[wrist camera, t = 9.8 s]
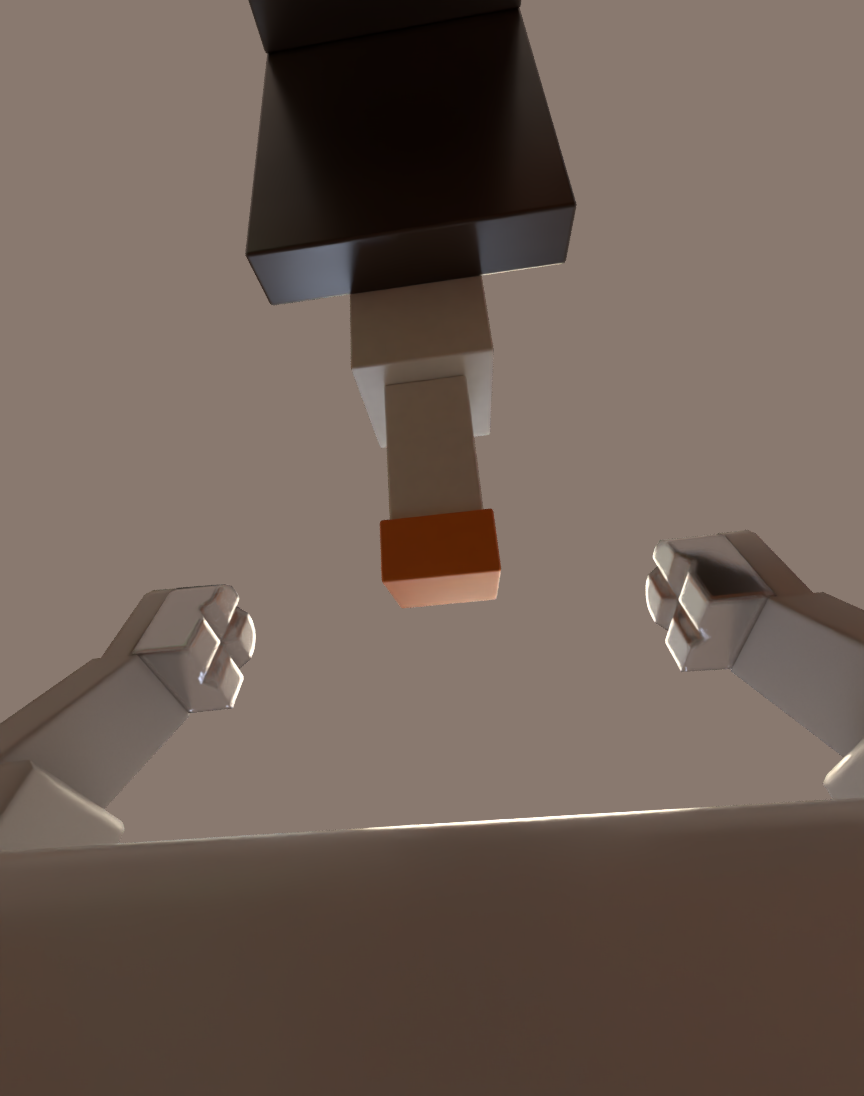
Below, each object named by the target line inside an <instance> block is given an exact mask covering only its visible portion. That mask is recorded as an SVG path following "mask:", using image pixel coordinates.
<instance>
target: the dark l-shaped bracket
mask: <svg viewBox="0 0 864 1096" xmlns="http://www.w3.org/2000/svg"><path fill="white" fill-rule="evenodd" d="M249 3H250V6H251V9H252V13H253V16H254V19H255V22H256V25H257V28H258V31H259V34H260V37H261V41H262V44H263V47H264V50H265V51H266V53H267V61H266V71H265V79H264V89H263V97H262V106H261V116H260V125H259V134H258V144H257V152H256V162H255V171H254V181H253V189H252V198H251V207H250V217H249V226H248V236H247V244H246V257H247V259H248V261H249V263H250V265H251V267H252V269H253V271H254V273H255V275H256V276H257V279H258V281H259V282H260V284H261V286H262V288H263V290H264V292H265V294H266V296H267V298H268V300H269V302H270V304H271V305H279V304H286V303H293V302H300V301H306V300H314V299H320V298H327V297H335V296H342V295H348V294H356V293H363V292H370V291H377V290H383V289H390V288H397V287H404V286H411V285H418V284H425V283H432V282H439V281H446V280H453V279H460V278H467V277H474V276H481V275H488V274H494V273H501V272H508V271H515V270H522V269H529V268H536V267H543V266H550V265H557V264H563V263H565V261H566V257H567V252H568V246H569V241H570V236H571V231H572V226H573V220H574V215H575V210H576V201H575V198H574V194H573V191H572V187H571V184H570V180H569V177H568V174H567V170H566V167H565V163H564V160H563V156H562V153H561V150H560V146H559V143H558V139H557V136H556V132H555V129H554V125H553V122H552V119H551V115H550V112H549V108H548V105H547V101H546V98H545V94H544V91H543V88H542V84H541V81H540V77H539V74H538V70H537V67H536V63H535V60H534V56H533V53H532V49H531V46H530V42H529V39H528V36H527V32H526V29H525V26H524V22H523V19H522V15H521V11H520V8H519V7H520V5H521V0H249Z"/></svg>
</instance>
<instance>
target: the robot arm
mask: <svg viewBox="0 0 864 1096" xmlns="http://www.w3.org/2000/svg"><path fill="white" fill-rule="evenodd" d="M653 558H654V560H655V562H656V564H657V565H658V566H657V567H656V568H655V569H654V570H653V571H652V572H651V573H650V574H648V577H647V583H646V588H645V590H646V601H647V605H648V608H649V612H650V614H651V616H652V618H653V619H654V622H655V623H656V624H658V625H660V626H661V627H663V628H665V629H666V630H667V631H668V634H667V637H666V641H665V642H666V644H667V646H668V648H669V650H670V652H671V654H672V655H673V657H674V659H675V661H676V663H677V665H678V667H679V668H680V670H681V672H683V671H701V670H719V669H732V670H731V672H733V673H734V674H735V675H737V676H738V677H739V678H741V679H742V680H743V681H744V682H746V683H747V684H749V685H750V686H751V687H752V688H754V689H755V690H756V691H757V692H759V693H760V694H761V695H763V696H764V697H765V698H767V699H768V700H769V701H771V702H772V703H773V704H775V705H776V706H777V707H779V708H780V709H781V710H782V711H784V712H785V713H786V714H788V715H789V716H790V717H792V718H793V719H794V720H795V721H797V722H798V723H800V724H801V725H802V726H803V727H805V728H806V729H807V730H809V731H810V732H811V733H813V734H814V735H815V736H816V737H818V738H819V739H820V740H822V741H823V742H824V743H826V744H827V745H828V746H829V747H831V748H832V749H834V750H835V751H836V752H838V753H839V754H840V755H841V756H843V757H844V758H843V759H842V760H841V761H840V762H839V763H838V764H837V765H836V766H835V767H834V768H833V769H832V770H831V771H830V772H829V773H828V775H827V776H826V778H825V780H824V782H823V784H824V786H825V788H826V789H827V791H828V792H829V794H830V795H831V797H832V798H833V799H830V800H814V801H797V802H781V803H765V804H749V805H733V806H716V807H700V808H685V809H668V810H651V811H636V812H622V813H621V812H619V813H603V814H587V815H571V816H554V817H539V818H523V819H507V820H489V821H473V822H457V823H442V824H425V825H408V826H392V827H377V828H360V829H345V830H327V831H312V832H295V833H281V834H280V833H279V834H263V835H248V836H231V837H216V838H199V839H184V840H167V841H150V842H134V843H119V841H120V838H121V836H122V834H123V832H124V830H125V829H124V826H123V823H122V821H120V820H119V819H117V818H116V817H114V816H113V815H111V814H110V813H108V812H107V811H105V810H104V809H105V808H106V807H107V806H108V805H109V803H110V802H111V801H112V800H113V799H114V798H115V797H116V796H117V795H118V794H119V792H120V791H121V790H122V789H123V788H124V787H125V786H126V785H127V784H128V783H129V782H130V780H131V779H132V778H133V777H134V776H135V775H136V774H137V773H138V772H139V771H140V770H141V768H142V767H143V766H144V765H145V764H146V763H147V762H148V761H149V760H150V759H151V757H152V756H153V755H154V754H155V753H156V752H157V751H158V750H159V749H160V748H161V747H162V745H163V744H164V743H165V742H166V741H167V740H168V739H169V738H170V737H171V736H172V734H173V733H174V732H175V731H176V730H177V729H178V728H179V727H180V726H181V725H182V723H183V722H184V721H185V720H186V719H187V718H188V717H189V716H190V714H189V713H194V712H203V711H211V710H212V711H213V710H221V709H231V708H233V705H234V703H235V700H236V697H237V694H238V692H239V689H240V686H241V684H242V681H243V675H242V673H241V671H240V668H241V667H242V666H243V665H244V664H246V663H247V662H248V661H249V660H250V659H251V656H252V653H253V650H254V648H255V633H256V632H255V628H254V624H253V621H252V619H251V617H250V616H249V614H248V613H247V612H245V611H243V610H242V609H240V608H239V607H237V603H238V601H239V596H238V595H237V593H236V591H235V590H234V588H233V587H232V586H230V585H226V584H222V585H209V586H196V587H183V588H176V589H164V590H153V591H151V592H149V593H147V594H145V595H144V596H143V598H142V599H141V601H140V602H139V604H138V605H137V607H136V608H135V609H134V611H133V612H132V614H131V615H130V617H129V618H128V620H127V621H126V622H125V624H124V625H123V627H122V628H121V630H120V631H119V633H118V634H117V636H116V637H115V638H114V640H113V641H112V643H111V644H110V646H109V647H108V648H107V650H106V651H105V653H104V654H103V656H102V657H101V658H97V659H92V660H91V661H89V662H88V663H86V664H85V665H83V666H82V667H80V668H79V669H78V670H76V671H75V672H73V673H72V674H70V675H69V676H68V677H66V678H65V679H63V680H62V681H61V682H59V683H58V684H56V685H55V686H53V687H52V688H50V689H49V690H48V691H46V692H45V693H43V694H42V695H40V696H39V697H38V698H36V699H35V700H33V701H32V702H30V703H29V704H28V705H26V706H25V707H23V708H22V709H21V710H19V711H18V712H17V713H15V714H13V715H12V716H11V717H9V718H8V719H6V720H5V721H3V722H2V723H1V724H0V1096H864V610H862V609H860V608H858V607H855V606H853V605H851V604H849V603H846V602H844V601H842V600H839V599H837V598H835V597H833V596H831V595H828V594H826V593H824V592H821V593H813V592H812V591H811V590H810V589H809V588H808V587H807V586H806V585H805V584H804V583H803V582H802V581H801V580H800V579H799V578H798V577H797V576H796V575H795V574H794V573H793V572H792V571H791V570H790V569H789V568H788V567H787V565H786V564H785V563H784V562H783V561H782V560H781V559H780V558H779V557H778V556H777V555H776V554H775V553H774V552H773V551H772V550H771V549H770V548H769V547H768V546H767V545H766V544H765V543H764V542H763V540H762V539H761V538H759V536H758V535H757V534H755V533H753V532H751V531H749V530H744V531H735V532H727V533H719V534H717V535H705V536H695V537H686V538H677V539H668V540H660V541H659V543H658V544H657V545H656V547H655V550H654V554H653Z"/></svg>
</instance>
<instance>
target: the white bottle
mask: <svg viewBox="0 0 864 1096" xmlns="http://www.w3.org/2000/svg"><path fill="white" fill-rule="evenodd" d="M350 322H351V324H350V325H351V370H352V373H353V375H354V378H355V381H356V383H357V386H358V389H359V392H360V394H361V397H362V400H363V402H364V405H365V408H366V410H367V413H368V416H369V419H370V421H371V424H372V427H373V429H374V432H375V435H376V438H377V440H378V443H379V445H380V447H387V465H388V488H389V512H390V520H382V521H381V522H380V543H381V571H382V582H383V584H384V585H385V586H386V588H387V589H388V590H389V592H390V593H391V594H392V596H393V597H394V599H395V600H396V601H397V603H398V604H399V605H400V607H401V608H411V607H421V606H431V605H441V604H452V603H463V602H473V601H483V600H494V599H496V597H497V592H498V586H499V579H500V573H501V565H500V557H499V549H498V542H497V535H496V527H495V520H494V513H493V510H492V509H483V502H482V494H481V486H480V478H479V471H478V463H477V455H476V447H475V440H474V436H482V435H488V434H490V422H491V399H492V375H493V351H494V350H493V343H492V338H491V331H490V324H489V318H488V312H487V305H486V299H485V293H484V287H483V280H482V275H481V276H474V277H467V278H460V279H453V280H446V281H439V282H432V283H425V284H418V285H411V286H404V287H397V288H390V289H383V290H377V291H370V292H363V293H356V294H350Z"/></svg>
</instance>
